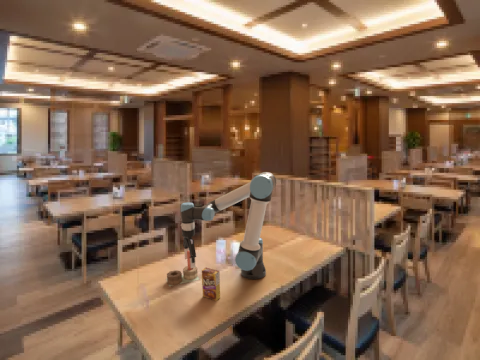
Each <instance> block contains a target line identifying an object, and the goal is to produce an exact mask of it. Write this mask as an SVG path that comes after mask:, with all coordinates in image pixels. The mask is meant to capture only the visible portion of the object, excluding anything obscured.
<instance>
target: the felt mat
mask: <svg viewBox="0 0 480 360" xmlns="http://www.w3.org/2000/svg"><path fill="white" fill-rule="evenodd" d="M165 280H166V281H167V278H165ZM195 281H200V277H199V276H198V277H196V278H195V279H192V280H186V279H184V277H183V274H182V282H181V283H180V284H179V285H182V284H187V283H191V282H195ZM167 284H168V283H167ZM174 286H175V285H169V284H168V287H174Z"/></svg>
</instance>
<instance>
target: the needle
mask: <svg viewBox="0 0 480 360" xmlns="http://www.w3.org/2000/svg"><path fill="white" fill-rule="evenodd" d="M190 257H191V256H190V251H187V259H186V261H187V262H186V263H187V266H188V270H192V268H191V264H190Z"/></svg>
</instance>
